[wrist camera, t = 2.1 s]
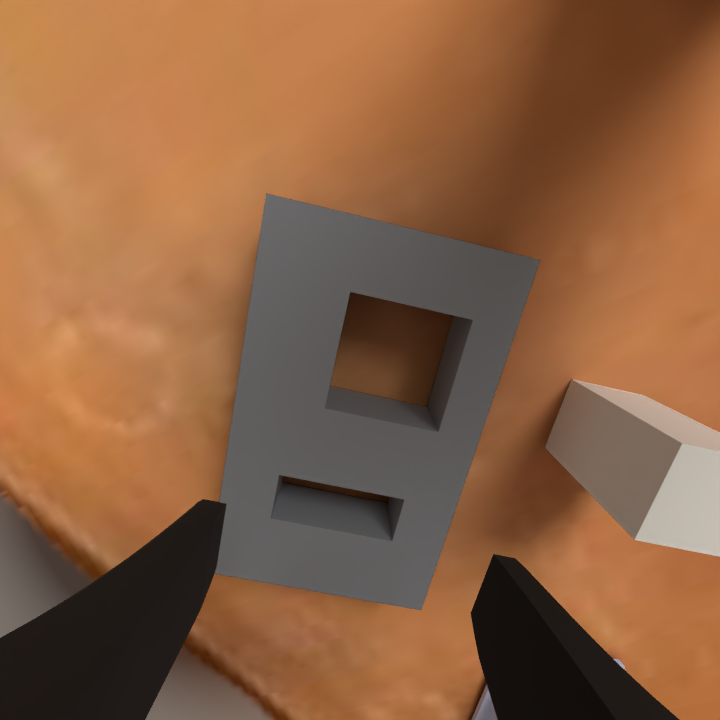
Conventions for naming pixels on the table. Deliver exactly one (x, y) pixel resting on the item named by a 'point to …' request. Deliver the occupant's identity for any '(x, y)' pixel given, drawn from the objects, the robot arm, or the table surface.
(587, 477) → the square peg
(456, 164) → the table surface
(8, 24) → the table surface
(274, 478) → the socket board
